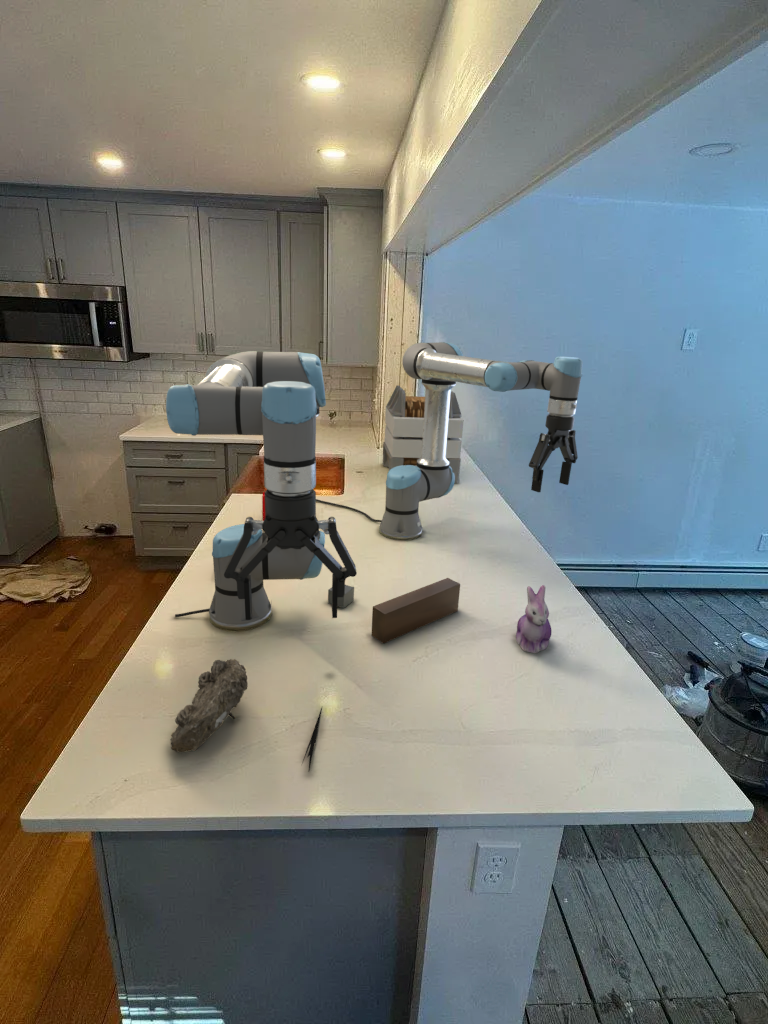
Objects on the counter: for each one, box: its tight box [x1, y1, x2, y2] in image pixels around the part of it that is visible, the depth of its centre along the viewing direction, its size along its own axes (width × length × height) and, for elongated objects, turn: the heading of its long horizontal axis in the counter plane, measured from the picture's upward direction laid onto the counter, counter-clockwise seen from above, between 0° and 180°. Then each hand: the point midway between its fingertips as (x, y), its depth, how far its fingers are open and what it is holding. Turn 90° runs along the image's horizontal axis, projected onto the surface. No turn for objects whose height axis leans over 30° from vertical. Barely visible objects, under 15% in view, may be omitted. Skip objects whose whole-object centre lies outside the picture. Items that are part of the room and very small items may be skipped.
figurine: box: [515, 584, 552, 654], centre depth 134 cm, size 9×10×15 cm
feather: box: [301, 673, 332, 771], centre depth 108 cm, size 2×28×2 cm
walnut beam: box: [371, 577, 461, 645], centre depth 143 cm, size 4×26×8 cm, turn 131°
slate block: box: [327, 584, 355, 609], centre depth 152 cm, size 5×5×4 cm
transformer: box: [381, 384, 464, 484], centre depth 268 cm, size 34×33×41 cm
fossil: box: [170, 658, 249, 753], centre depth 106 cm, size 22×10×15 cm
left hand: (292, 614), depth 91 cm, fingers open, 13 cm apart
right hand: (550, 487), depth 165 cm, fingers open, 13 cm apart
